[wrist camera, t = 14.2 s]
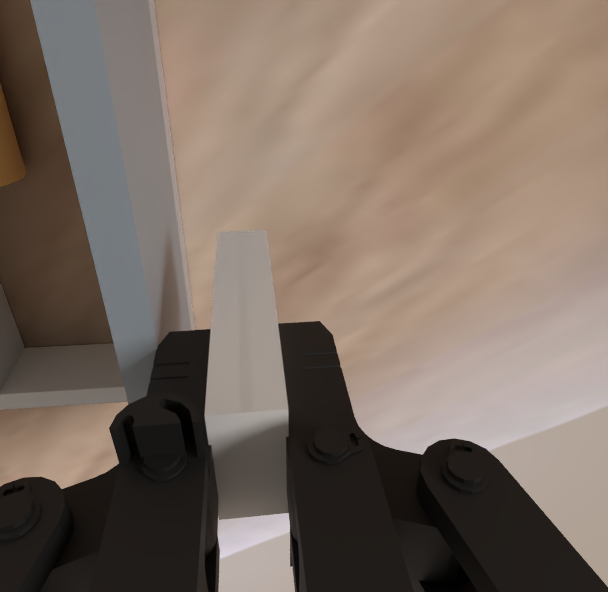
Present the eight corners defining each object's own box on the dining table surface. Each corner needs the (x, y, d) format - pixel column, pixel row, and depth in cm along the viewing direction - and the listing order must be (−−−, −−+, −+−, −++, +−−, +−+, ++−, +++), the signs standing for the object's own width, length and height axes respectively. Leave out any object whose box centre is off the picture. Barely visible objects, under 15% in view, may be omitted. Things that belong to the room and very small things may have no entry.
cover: (-121, -617, 4) (22, -587, 4) (88, -219, 13) (133, -216, 13) (182, 626, 16) (216, 619, 16) (184, 399, 25) (206, 397, 25)
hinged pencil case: (-231, -202, 15) (-347, -245, 12) (131, -182, 16) (107, -217, 13) (2, 363, 27) (-26, 411, 24) (198, 352, 28) (193, 397, 25)
